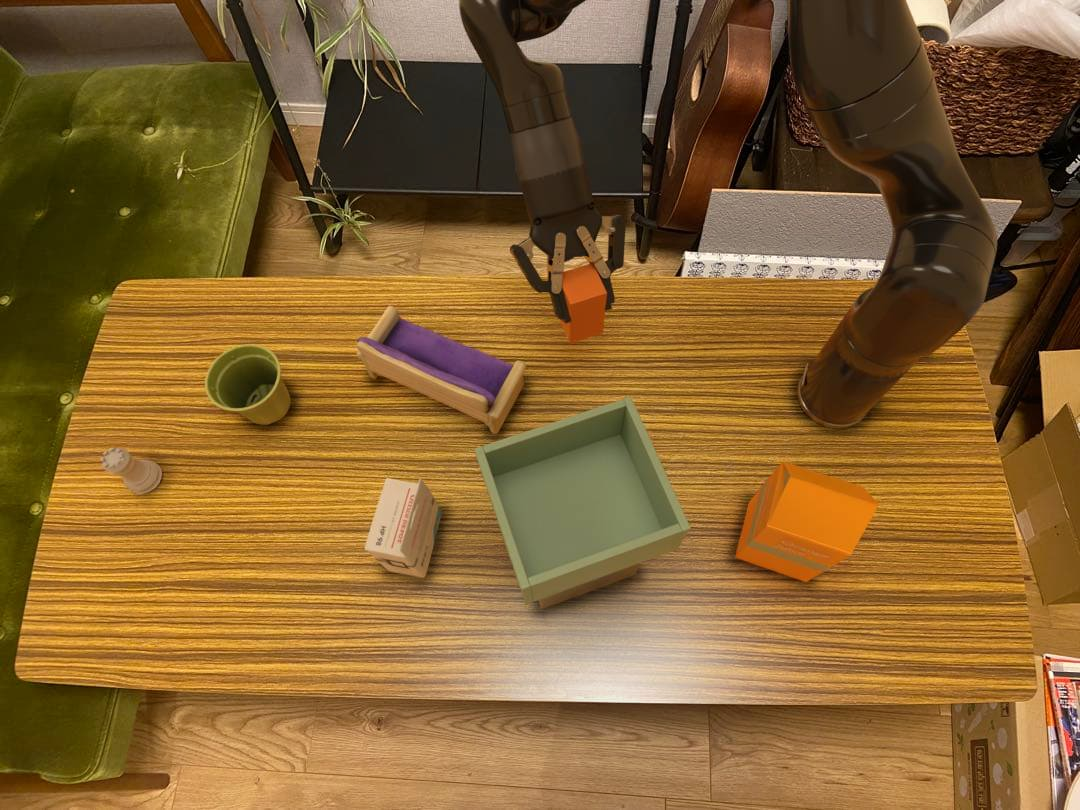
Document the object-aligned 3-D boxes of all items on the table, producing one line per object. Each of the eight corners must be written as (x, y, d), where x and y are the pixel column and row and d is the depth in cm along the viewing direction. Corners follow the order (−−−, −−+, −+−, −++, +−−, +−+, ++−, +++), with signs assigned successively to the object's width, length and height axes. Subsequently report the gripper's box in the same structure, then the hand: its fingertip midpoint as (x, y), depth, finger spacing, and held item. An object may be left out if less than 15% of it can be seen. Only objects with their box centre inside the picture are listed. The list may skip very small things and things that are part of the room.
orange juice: (806, 583, 84) (874, 542, 66) (733, 558, 86) (780, 511, 68) (819, 523, 87) (887, 468, 69) (748, 500, 89) (797, 440, 71)
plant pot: (283, 445, 93) (258, 419, 85) (221, 425, 95) (190, 398, 87) (314, 385, 97) (293, 355, 89) (254, 367, 98) (228, 335, 91)
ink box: (406, 505, 89) (379, 465, 76) (443, 512, 89) (423, 474, 76) (386, 571, 86) (355, 542, 73) (425, 579, 86) (400, 551, 72)
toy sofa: (529, 385, 96) (526, 348, 87) (500, 438, 93) (494, 406, 84) (398, 329, 101) (382, 288, 91) (366, 378, 97) (346, 340, 88)
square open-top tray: (624, 428, 74) (630, 395, 67) (677, 549, 68) (691, 528, 61) (482, 476, 72) (473, 448, 65) (525, 604, 66) (521, 589, 59)
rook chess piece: (122, 479, 92) (85, 458, 85) (151, 456, 93) (116, 432, 86) (141, 502, 91) (105, 482, 83) (170, 477, 92) (137, 455, 85)
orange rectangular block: (590, 304, 90) (593, 262, 82) (603, 333, 88) (607, 292, 80) (557, 315, 90) (556, 273, 82) (569, 344, 88) (570, 304, 80)
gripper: (494, 187, 73) (537, 340, 79) (622, 150, 75) (654, 302, 81) (484, 186, 80) (524, 326, 86) (601, 152, 82) (632, 292, 88)
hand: (587, 314), depth 84 cm, fingers closed on orange rectangular block, 4 cm apart
